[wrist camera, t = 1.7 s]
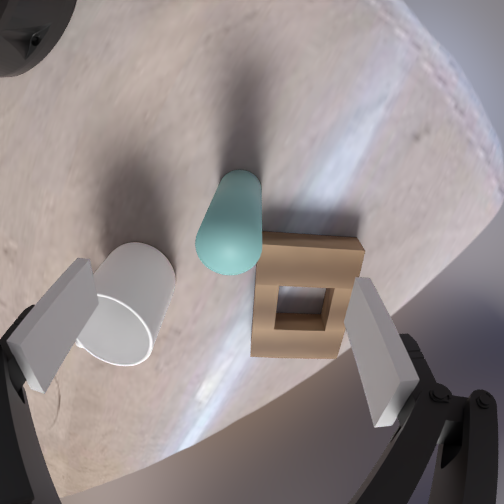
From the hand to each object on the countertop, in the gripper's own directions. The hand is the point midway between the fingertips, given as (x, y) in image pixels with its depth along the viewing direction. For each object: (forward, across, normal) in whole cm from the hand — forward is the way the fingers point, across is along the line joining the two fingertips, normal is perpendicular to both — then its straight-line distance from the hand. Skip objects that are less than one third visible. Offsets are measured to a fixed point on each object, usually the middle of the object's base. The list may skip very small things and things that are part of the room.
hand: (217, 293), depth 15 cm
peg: (+17, 0, 0) cm, 17 cm away
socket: (+17, +7, -11) cm, 21 cm away
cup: (+17, -12, -11) cm, 23 cm away
